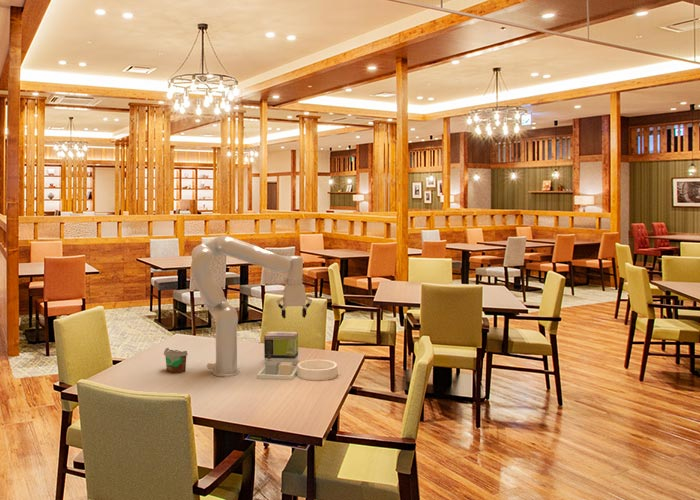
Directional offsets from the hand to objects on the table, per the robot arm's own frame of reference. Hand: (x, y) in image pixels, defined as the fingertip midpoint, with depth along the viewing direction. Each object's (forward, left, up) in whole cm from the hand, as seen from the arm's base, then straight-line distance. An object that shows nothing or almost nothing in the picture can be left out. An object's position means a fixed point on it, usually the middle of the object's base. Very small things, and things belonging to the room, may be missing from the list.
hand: (293, 317), depth 291 cm
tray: (-4, -15, -24) cm, 28 cm away
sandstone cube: (-1, -15, -23) cm, 28 cm away
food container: (-53, -17, -24) cm, 61 cm away
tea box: (-7, +5, -24) cm, 25 cm away
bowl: (+13, -13, -24) cm, 30 cm away
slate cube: (-7, -15, -23) cm, 29 cm away
